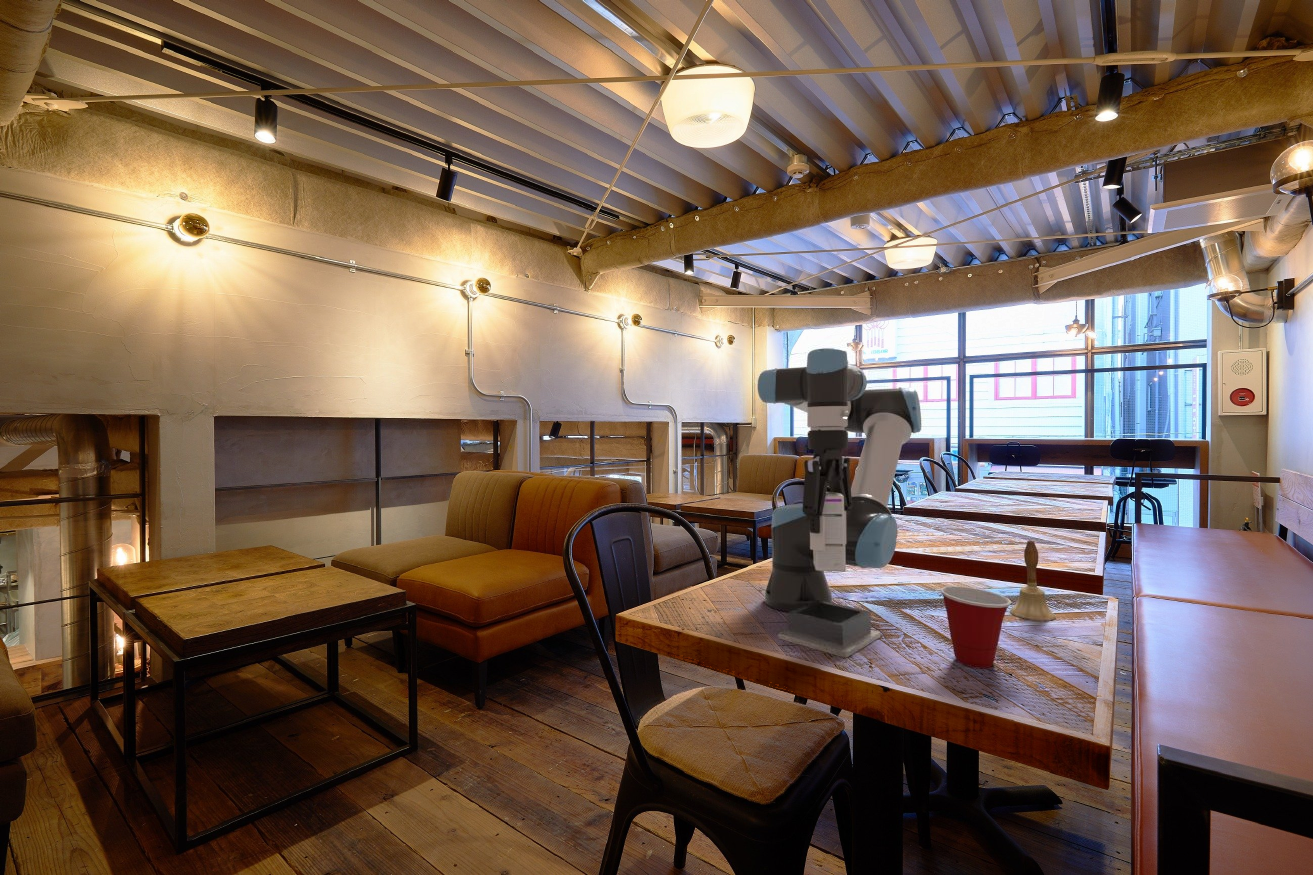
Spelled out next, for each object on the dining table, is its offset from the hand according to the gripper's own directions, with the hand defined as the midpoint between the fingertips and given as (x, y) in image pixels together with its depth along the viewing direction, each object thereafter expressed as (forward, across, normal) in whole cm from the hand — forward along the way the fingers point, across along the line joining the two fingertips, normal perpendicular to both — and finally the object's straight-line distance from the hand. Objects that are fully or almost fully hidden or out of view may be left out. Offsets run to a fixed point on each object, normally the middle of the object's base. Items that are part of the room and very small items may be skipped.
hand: (828, 546), depth 112 cm
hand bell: (+18, +42, -25) cm, 52 cm away
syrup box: (+4, 0, 0) cm, 4 cm away
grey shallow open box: (+18, 0, 0) cm, 18 cm away
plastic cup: (+18, +7, -24) cm, 31 cm away
